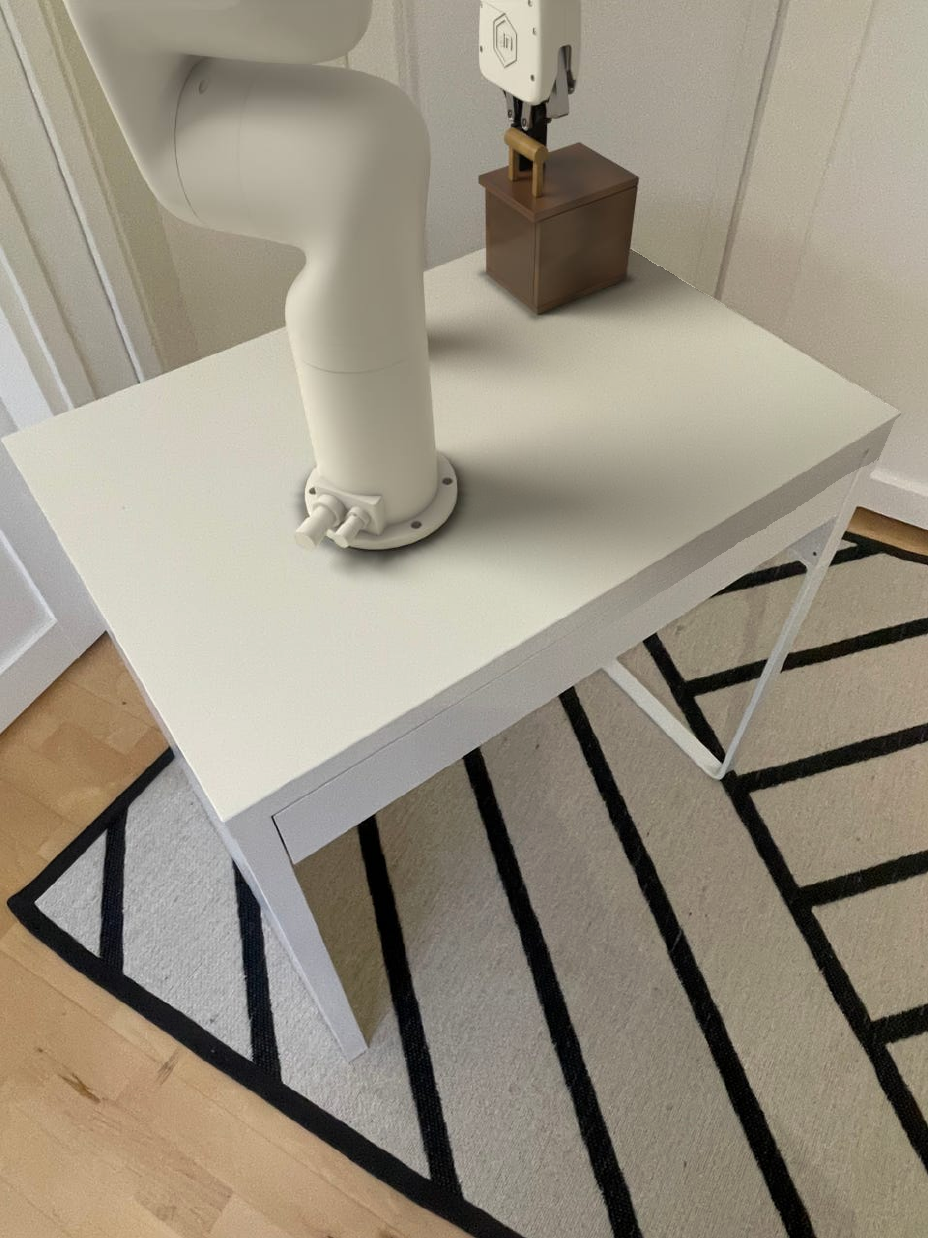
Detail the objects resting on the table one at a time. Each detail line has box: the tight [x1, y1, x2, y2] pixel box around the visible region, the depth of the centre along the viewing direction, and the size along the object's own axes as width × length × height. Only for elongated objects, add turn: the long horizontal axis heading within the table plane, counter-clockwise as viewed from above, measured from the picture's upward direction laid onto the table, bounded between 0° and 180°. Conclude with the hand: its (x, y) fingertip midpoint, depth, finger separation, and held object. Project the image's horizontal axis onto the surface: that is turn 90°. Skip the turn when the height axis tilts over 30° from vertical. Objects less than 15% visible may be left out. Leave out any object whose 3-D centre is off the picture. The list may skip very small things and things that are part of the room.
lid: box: [477, 126, 640, 222], centre depth 82 cm, size 12×10×5 cm
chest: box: [484, 185, 639, 315], centre depth 88 cm, size 12×10×10 cm
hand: (528, 164), depth 85 cm, fingers closed
